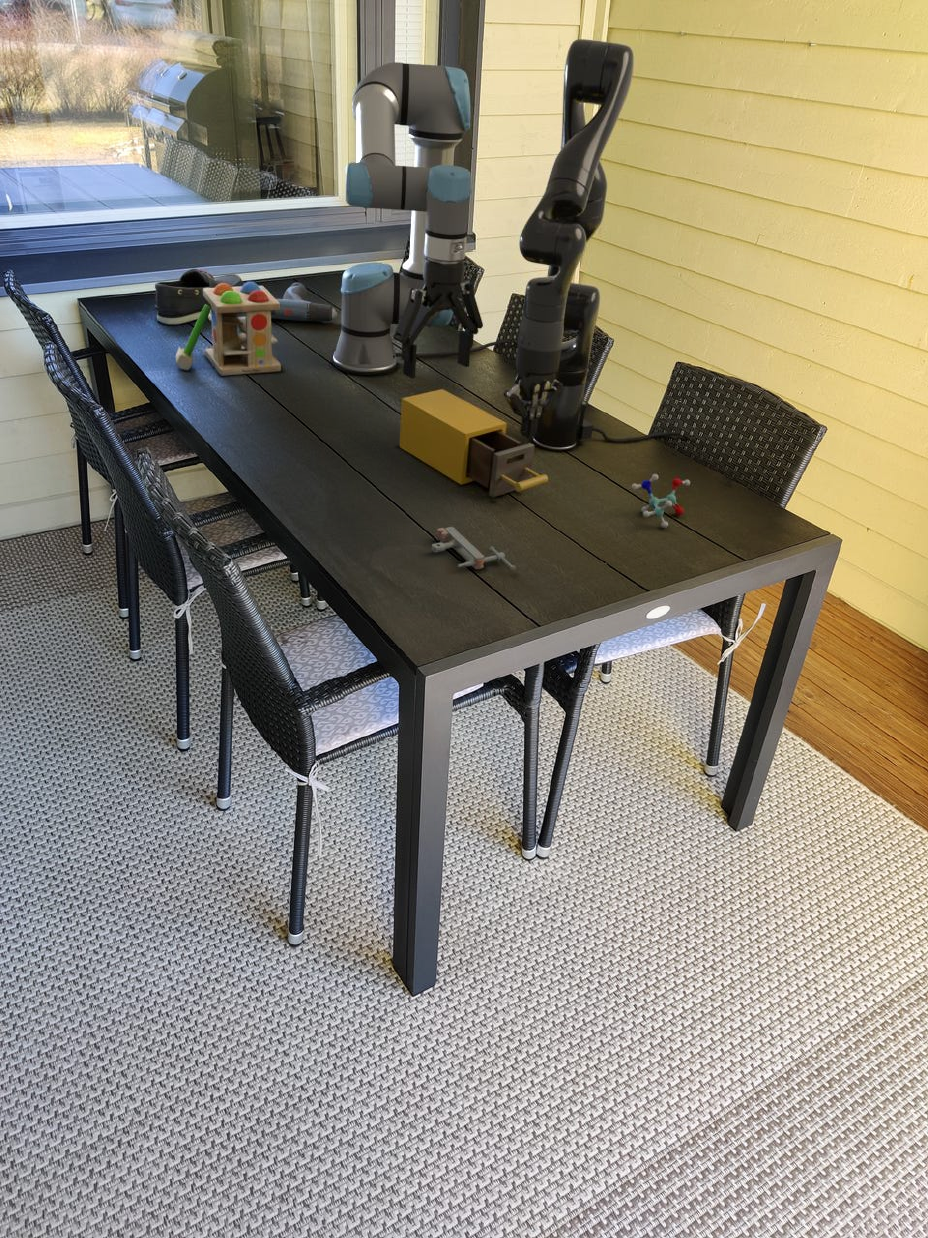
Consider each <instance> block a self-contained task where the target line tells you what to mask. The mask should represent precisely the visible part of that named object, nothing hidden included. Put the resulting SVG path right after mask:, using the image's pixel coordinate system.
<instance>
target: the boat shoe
mask: <svg viewBox="0 0 928 1238" xmlns="http://www.w3.org/2000/svg"><path fill="white" fill-rule="evenodd" d="M221 283H226V284H228V285H230V286H231V287H242V286H243V285H244V284H245V283H244V281H243V280H242V278H241V276H239V275H238V274H234V273H229V274H224V275H217V276H213V275H211V273H209V272H207V271H205V270H202V269H198V268H191V269H189V270H186V271H185V272H184V273H182V274H181V276H180V277H179V279H178V280H172V281H158V282H155V284H154V289H155V305H154V309H155V310H157V312H156V318H157V319H156V320H157V321H159V322H160V323H162V324H165V325H180V324H184V323H189V322H192V321H197V320H198V318H199V316H200V314H201V311H202V309H203V307H204V305H208V306H210V307H211V305H210V304H209V302H208V301H207V300H206V299H205V297H204V296H203V289H204V288H215V287H216V286H217V285H218V284H221ZM209 314H211V310H210V312H209Z"/></svg>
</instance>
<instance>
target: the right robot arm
mask: <svg viewBox="0 0 928 1238" xmlns="http://www.w3.org/2000/svg"><path fill="white" fill-rule="evenodd" d="M634 68H635V57H634V51H633V49H632V47H630V46H629V45H627V44H622V43H617V42H610V41H603V40H602V41H601V40H592V39H585V38H577V39H575V40H574V41H572V43H571V44H570V46H569V49H568V51H567V54H566V58H565V65H564V73H563V87H562V88H563V89H562V90H563V91H562V93H563V94H562V116H561V117H562V120H561V121H562V122H561V139H560V140H561V141H560V143H561V144H560V150H559V152H558V154H557V155H556V157H555V159H554V162H553V164H552V167H551V170H550V175H549V178H548V181H547V184H546V188H545V190H544V193H543V195H542V197H541V198H540V200H539V202H538V204H537V206H535V209H534V210H533V211H532V213H531V214H530V216H529V217H528V219H527V221H525V224H524V226H523V228H522V229H521V233H520V237H519V244H518V245H519V252H520V254H521V257H522V258H523V259H524V260H525V261H527V262H528V263H533V264H538V265H545V266H548V270H547V275H546V276H539V277H533V278H531V279H530V280H529V281H527V283H526V287H525V293H524V299H523V308H522V317H521V321H520V325H519V331H518V338H517V339H518V340H517V341H518V346H517V348H516V356H515V367H516V370H517V375H516V378H515V379H514V385H513V387H512V388H510V390H509V389H506V390H504V392H503V397H504V398H505V400H506V402H507V403H508V405H509V407H510V409H511V410H512V412H513V414H515V415H517V416H519V417H520V418H521V420H520V421H521V422H520V429H519V432H520V434H521V436H522V437H524V438H525V439H531V438H532V442H533V443H534V445H536V446H538V447H540V448H542V449H545V450H547V451H548V450H549V451H554V452H555V451H556V452H564V451H570V450H572V449H575V448H576V446H580V444H581V441H583V440H589V439H592V435H593V432H596V433H598V434H601V436H602V437H603V439H605V440H606V441H607V442H608V441H609V442H611V443H615V444H616V443H618V444H621V443H629V442H637V441H644V440H647V439H651V438H657V437H658V438H659V437H660V438H661V437H669V436H680V437H683V438H685V439H686V440H687V441H688V442H692V441H693V439H692V438H691V437H690V435H688V436H681V435H680V434H679V432H680V431H668V432H655V433H650V434H646V435H642V436H636V437H635V436H634V437H627V438H613V437H609V436H608V435H607V434H606V431H604V430H602V429H601V428H598V427H595V426H594V424H593V423H592V422H589V421H588V420H586V419H585V414H586V408H587V402H586V401H585V400H584V397H585V390H586V384H587V383H586V382H587V377H588V371H589V365H590V357H591V352H592V351H591V350H592V345H593V338H594V335H595V334H594V333H595V329H596V324H597V320H598V315H599V311H600V307H601V306H600V303H601V293H600V290H599V288H598V287H596V286H594V285H588V284H583V283H576V282H572V280H573V278H574V276H575V273H576V271H577V268H578V267H579V264H580V262H581V259H582V257H583V255H584V252H585V250H586V245H587V243H588V242H589V241H590V240H591V239H592V237H593V236H594V235H595V234H596V232H597V231H598V229H599V228H600V226H601V224H602V223H603V219H604V216H605V208H606V200H607V194H608V193H607V192H608V180H607V176H606V172H605V170H604V167H603V164H602V162H601V158H602V155H603V153H604V151H605V149H606V146H607V144H608V142H609V140H610V138H611V136H612V134H613V131H614V129H615V127H616V124H617V122H618V121H619V120H618V119H619V118H620V115H621V113H622V111H623V108H624V105H625V103H626V100H627V98H628V96H629V92H630V89H631V85H632V82H633V75H634ZM585 104H588V105H596V106H600V107H599V108H598V110H597V111H596V113H595V114H594V116H592V118H591V119H590V120H589V121H588V122H586V117H585V116H586V115H585ZM564 332H567V333H571V334H572V333H573V334H576V336H575V337H574V338H572V339H570V340H567V341H563V340H564V339H563V338H564Z"/></svg>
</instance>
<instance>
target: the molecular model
mask: <svg viewBox="0 0 928 1238" xmlns="http://www.w3.org/2000/svg"><path fill="white" fill-rule="evenodd" d="M657 480H659V475H658V474H657V473H653V474H652V475H651V478H649V480H648V479H646V480H643V481H642V482H641V483H639V484H637V483H632V485H631V489H632V490H633V491H637V490H638V489H639V488H640V489H641V488H642V489H643V490H646V491H647V494H648V496H649V501H648V505H646V506H642V507H641V509H640V510H641V513H642V517H644V518H647V519H648V518H649V517H650V516H655V517H657V518H659V519H660V522H661V523H660V525H661V527H662V528H663V529H666V528H668V526H669V523H668V521H666V520H665V518H664V516H663V515H664V513H665V510H666V509H667V508H671V507H672V508H673V509H674V513H675V515H676V516H682V515H683V514H684V512H685V511H684V508H683V507H681V506H680V505H679V504H678V502H677V497H676V495H675V494H676V490H677V488H678V487H679V486H681V485H683V486H685V487H689V486H690V484H691V480H689V479H685V480H681V479H680V478H678V477H675V478H673V479H672V480H671V485H672V489H671V492H670V493H669V494H667V495H666V497H664V498H658V497H656V496H654V495H653V492H652V490H651V487H652V483H653V482H654V481H657ZM660 503H664V505H663V506H662V507H661V506H659V504H660ZM651 507H652V508H654V510H653V511H649V509H650V508H651Z"/></svg>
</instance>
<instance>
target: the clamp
mask: <svg viewBox="0 0 928 1238" xmlns="http://www.w3.org/2000/svg"><path fill="white" fill-rule="evenodd" d="M436 541H439V542H436V543H432V544H431V551H432V552H433V553H435V554H437V553H441V552H445V551H446V550H447V549H451V548H453V549H454V550H455V551H456V552H457V553H458V554H459V555H460V556H461V557H462V558H463V559H464V560H465V562H462V563H459V564H457V567H458V568H462V567H472V568H473V569H475V570H480V569H483V568H484V563H488V562H492V561H496V562H499V561H502V562H503V563H504V564H505V565H506V566H507V567H508V568H509V569H510V571H511V572H514V571H515V570H516V568H517V567H516V565H514V564H511V563H510V562H509V561H508V560H507V559H506V554H505V552H503V551H501V552H498V551H497V550H495V547H494V546H490V547H489V549H488V551H489V552H490V553H493V554H494V555H491V556H486V557H485V556H484V554H482V553H481V551H479V550H478V549H477V548H476V547H475V546H474V545H473V544H472V543H471V542H470V541H469V540H467V538H466V537H464V535H462V534H461V533H460V532H459V531H458V530H457V529H456V528H455V527H454V526H448V527H445V528H444V527H440V528H437V529H436Z"/></svg>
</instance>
